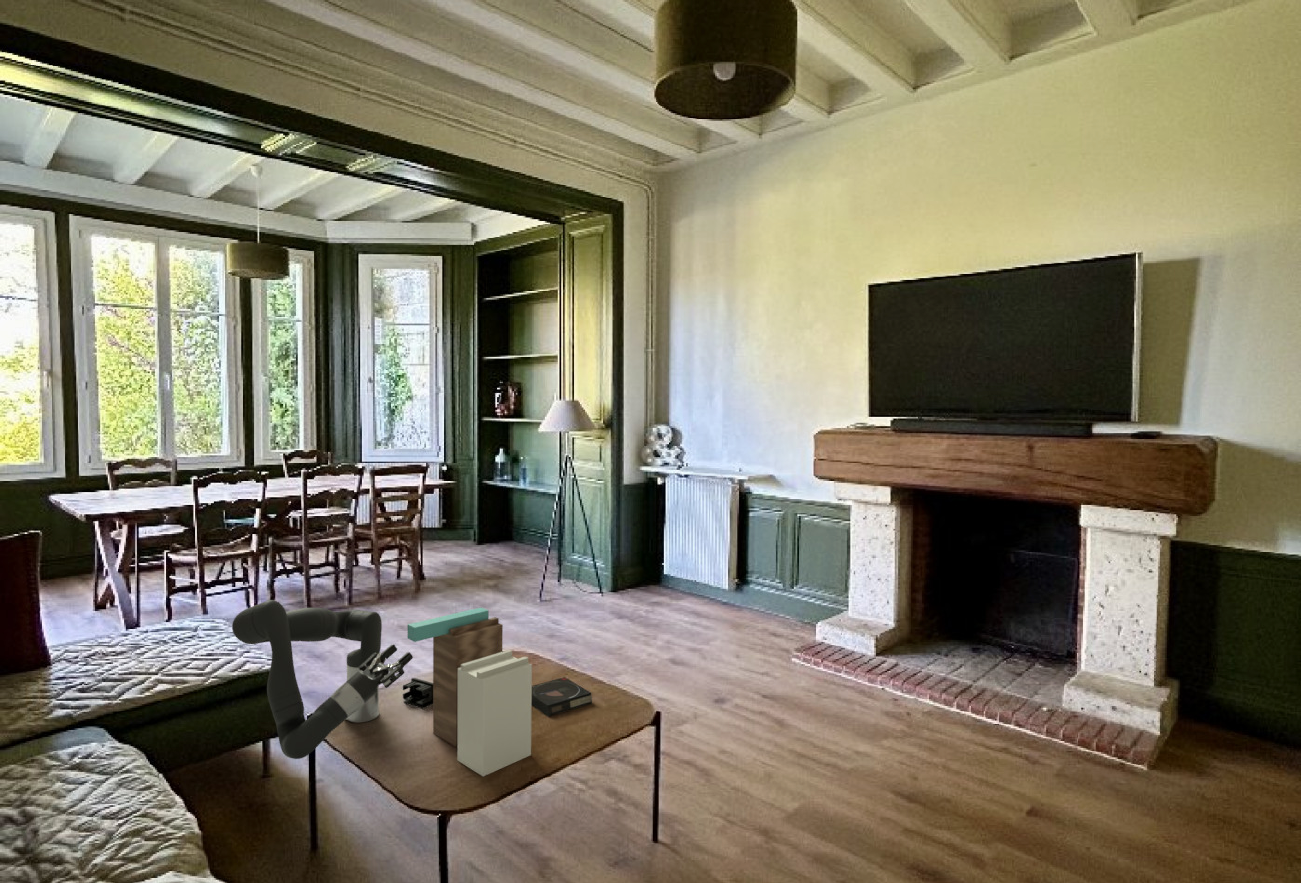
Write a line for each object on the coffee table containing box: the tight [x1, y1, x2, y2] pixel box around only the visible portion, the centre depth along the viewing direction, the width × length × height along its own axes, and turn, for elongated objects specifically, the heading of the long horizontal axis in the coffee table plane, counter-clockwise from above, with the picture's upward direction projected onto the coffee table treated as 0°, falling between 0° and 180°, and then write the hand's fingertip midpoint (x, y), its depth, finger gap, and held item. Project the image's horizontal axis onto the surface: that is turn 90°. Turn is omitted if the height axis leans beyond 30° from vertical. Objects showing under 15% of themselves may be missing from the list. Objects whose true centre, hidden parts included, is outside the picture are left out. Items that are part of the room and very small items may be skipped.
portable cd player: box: [531, 676, 593, 717], centre depth 239 cm, size 16×17×4 cm
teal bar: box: [407, 607, 490, 643], centre depth 210 cm, size 24×4×4 cm, turn 136°
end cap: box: [402, 677, 433, 710], centre depth 236 cm, size 10×7×7 cm
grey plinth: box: [456, 649, 533, 777], centre depth 200 cm, size 16×12×28 cm
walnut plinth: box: [432, 616, 504, 748], centre depth 216 cm, size 16×12×34 cm
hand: (402, 650), depth 200 cm, fingers open, 8 cm apart
